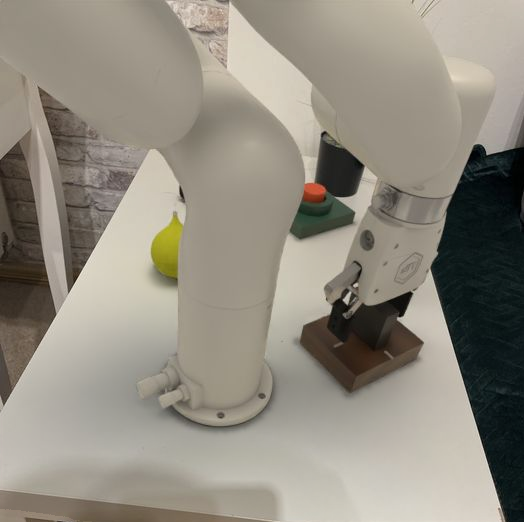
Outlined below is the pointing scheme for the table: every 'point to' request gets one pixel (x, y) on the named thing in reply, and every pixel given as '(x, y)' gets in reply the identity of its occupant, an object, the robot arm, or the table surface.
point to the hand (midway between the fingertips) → (365, 322)
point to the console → (359, 353)
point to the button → (314, 193)
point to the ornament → (167, 248)
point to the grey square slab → (374, 323)
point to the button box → (320, 217)
